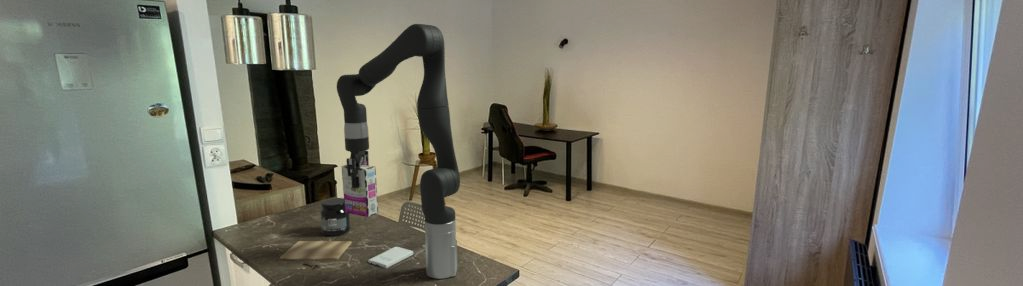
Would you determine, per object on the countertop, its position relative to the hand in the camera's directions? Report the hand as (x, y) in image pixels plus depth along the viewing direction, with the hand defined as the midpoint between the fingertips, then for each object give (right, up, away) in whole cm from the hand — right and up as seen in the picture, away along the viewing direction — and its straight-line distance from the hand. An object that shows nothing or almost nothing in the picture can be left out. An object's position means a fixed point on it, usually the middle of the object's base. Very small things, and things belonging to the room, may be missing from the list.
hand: (359, 184), depth 158 cm
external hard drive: (+11, -25, -1) cm, 27 cm away
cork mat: (-16, -23, +4) cm, 28 cm away
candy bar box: (0, -10, +2) cm, 10 cm away
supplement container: (-16, -20, +22) cm, 34 cm away
